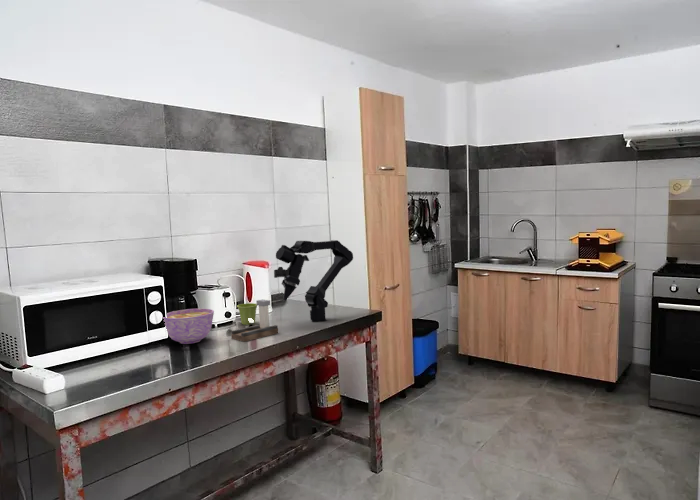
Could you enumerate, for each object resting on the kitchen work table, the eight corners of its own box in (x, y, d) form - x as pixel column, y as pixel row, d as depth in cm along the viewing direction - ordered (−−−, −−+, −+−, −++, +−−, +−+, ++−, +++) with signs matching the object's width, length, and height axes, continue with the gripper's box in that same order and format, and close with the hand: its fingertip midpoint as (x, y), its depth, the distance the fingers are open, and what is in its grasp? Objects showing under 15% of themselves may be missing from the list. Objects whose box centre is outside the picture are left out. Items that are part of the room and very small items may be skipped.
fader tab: (264, 326, 216) (262, 299, 215) (271, 328, 212) (270, 300, 212) (258, 327, 214) (256, 300, 213) (265, 329, 210) (263, 301, 209)
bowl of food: (165, 338, 212) (163, 311, 211) (214, 333, 218) (212, 306, 217) (162, 350, 193) (160, 320, 192) (217, 344, 199) (215, 315, 198)
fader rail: (265, 330, 219) (264, 323, 219) (278, 333, 213) (277, 325, 212) (231, 338, 207) (231, 330, 206) (244, 341, 200) (243, 333, 200)
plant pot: (261, 321, 239) (260, 302, 238) (255, 325, 230) (254, 306, 229) (241, 321, 240) (240, 303, 239) (235, 326, 231) (234, 307, 230)
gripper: (276, 263, 234) (265, 296, 230) (280, 258, 216) (268, 293, 212) (299, 271, 235) (288, 303, 232) (305, 266, 217) (293, 301, 214)
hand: (284, 300), depth 223 cm, fingers closed
